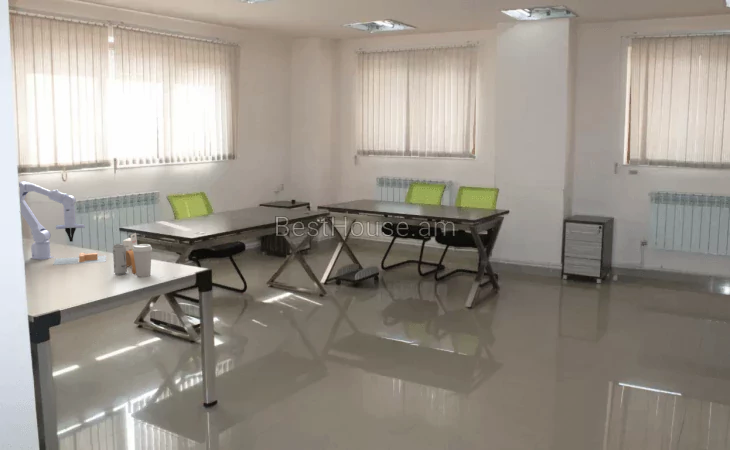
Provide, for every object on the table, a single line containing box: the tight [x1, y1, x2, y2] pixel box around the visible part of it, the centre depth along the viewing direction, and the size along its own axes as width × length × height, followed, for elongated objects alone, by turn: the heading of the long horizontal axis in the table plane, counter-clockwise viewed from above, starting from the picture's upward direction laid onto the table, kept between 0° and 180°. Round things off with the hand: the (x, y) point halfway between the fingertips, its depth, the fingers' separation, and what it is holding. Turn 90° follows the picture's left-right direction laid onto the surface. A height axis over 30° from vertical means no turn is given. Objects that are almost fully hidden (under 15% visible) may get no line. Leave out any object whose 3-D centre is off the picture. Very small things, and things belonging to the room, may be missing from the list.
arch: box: [126, 250, 136, 274], centre depth 340 cm, size 6×20×10 cm, turn 30°
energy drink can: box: [112, 242, 128, 276], centre depth 329 cm, size 6×6×15 cm
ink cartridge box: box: [122, 232, 138, 251], centre depth 362 cm, size 9×5×15 cm, turn 179°
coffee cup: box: [132, 243, 153, 278], centre depth 326 cm, size 10×10×15 cm
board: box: [52, 255, 107, 266], centre depth 360 cm, size 26×18×1 cm
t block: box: [78, 252, 99, 262], centre depth 362 cm, size 9×10×3 cm
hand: (71, 241), depth 367 cm, fingers closed
